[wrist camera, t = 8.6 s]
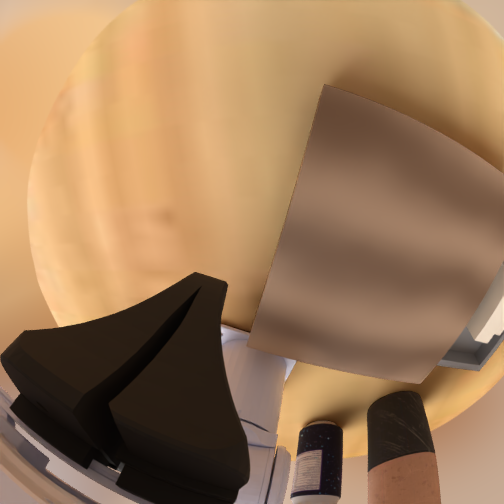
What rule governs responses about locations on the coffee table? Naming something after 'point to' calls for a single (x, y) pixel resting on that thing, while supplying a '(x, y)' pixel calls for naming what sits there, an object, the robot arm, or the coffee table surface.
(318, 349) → the brown wooden block
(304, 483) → the beverage can
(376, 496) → the travel mug
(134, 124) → the coffee table surface
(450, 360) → the box
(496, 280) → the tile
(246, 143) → the coffee table surface
